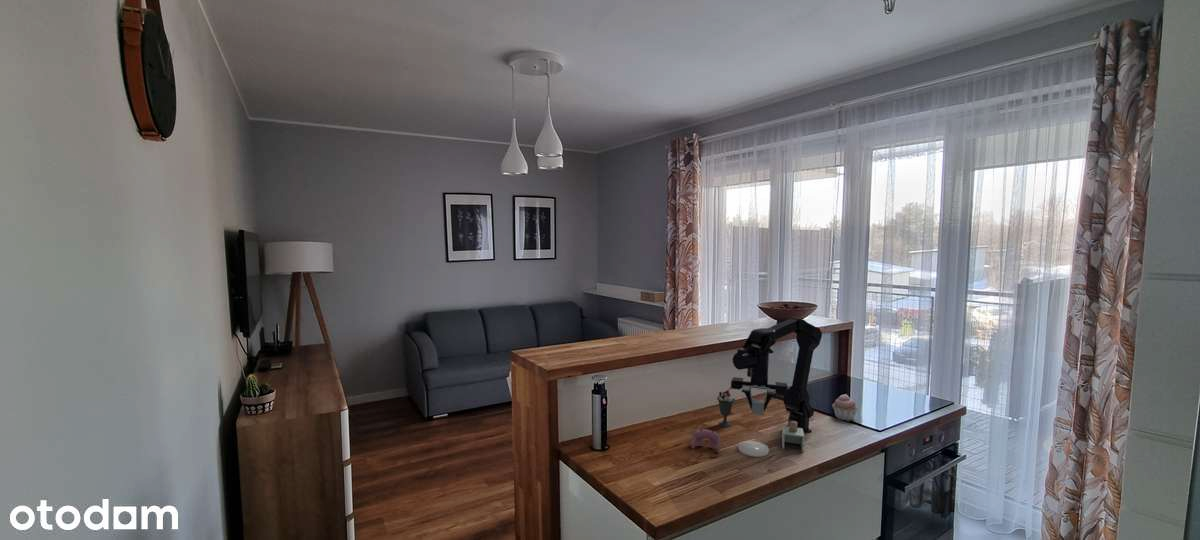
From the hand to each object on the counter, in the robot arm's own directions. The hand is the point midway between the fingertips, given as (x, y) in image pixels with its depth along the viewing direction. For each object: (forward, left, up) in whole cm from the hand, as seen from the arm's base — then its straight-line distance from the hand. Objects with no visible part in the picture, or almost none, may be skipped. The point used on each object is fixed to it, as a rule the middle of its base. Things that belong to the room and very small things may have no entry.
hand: (757, 409), depth 166 cm
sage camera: (-10, +6, -11) cm, 16 cm away
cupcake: (-46, -12, -12) cm, 49 cm away
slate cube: (0, 0, -1) cm, 1 cm away
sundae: (+4, -16, -12) cm, 20 cm away
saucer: (+5, +6, -11) cm, 14 cm away
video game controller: (+20, +1, -12) cm, 23 cm away
